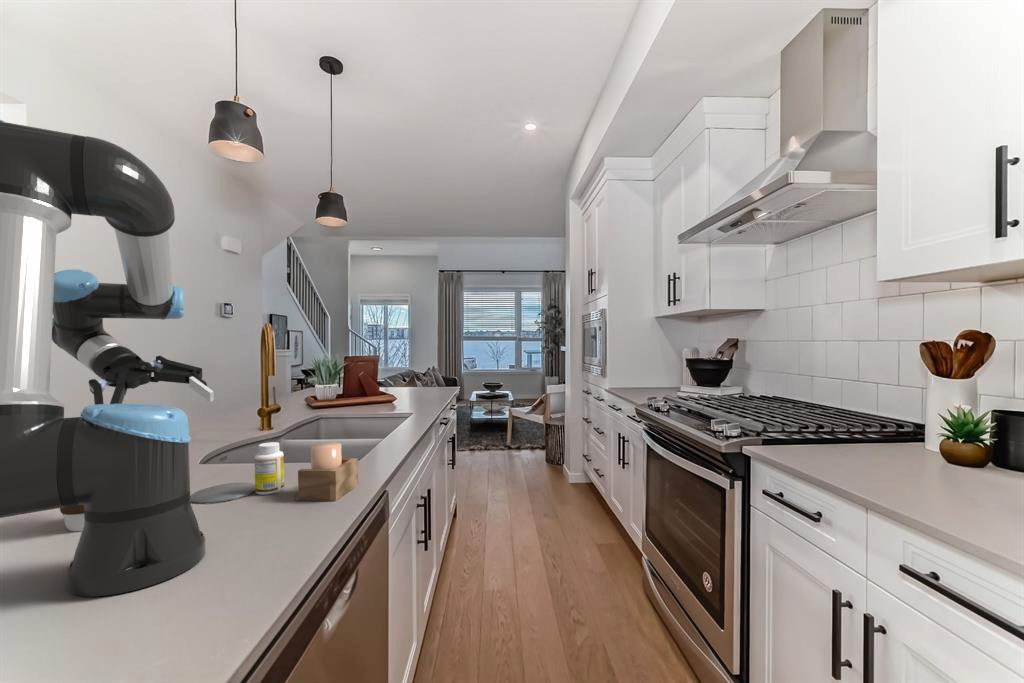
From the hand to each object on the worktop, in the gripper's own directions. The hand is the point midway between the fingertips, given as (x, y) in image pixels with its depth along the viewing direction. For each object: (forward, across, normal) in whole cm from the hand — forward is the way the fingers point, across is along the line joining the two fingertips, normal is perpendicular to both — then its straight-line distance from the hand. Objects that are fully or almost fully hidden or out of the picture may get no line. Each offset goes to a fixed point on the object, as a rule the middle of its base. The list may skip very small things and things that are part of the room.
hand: (180, 411), depth 93 cm
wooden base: (+32, -8, -6) cm, 34 cm away
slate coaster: (+14, 0, -14) cm, 20 cm away
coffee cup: (+6, +19, -11) cm, 23 cm away
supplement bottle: (+21, -4, -11) cm, 25 cm away
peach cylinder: (+32, -8, -6) cm, 34 cm away
